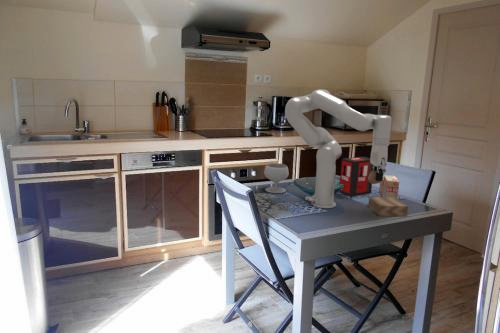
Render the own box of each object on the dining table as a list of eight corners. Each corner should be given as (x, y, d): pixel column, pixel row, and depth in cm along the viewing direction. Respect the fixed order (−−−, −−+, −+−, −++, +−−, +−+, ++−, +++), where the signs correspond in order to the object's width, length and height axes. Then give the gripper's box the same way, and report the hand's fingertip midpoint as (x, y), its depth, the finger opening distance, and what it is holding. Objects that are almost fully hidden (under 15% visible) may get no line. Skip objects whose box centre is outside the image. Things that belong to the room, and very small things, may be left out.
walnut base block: (378, 215, 184) (379, 206, 183) (368, 206, 198) (369, 197, 197) (407, 216, 185) (408, 206, 184) (394, 206, 199) (395, 197, 197)
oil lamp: (382, 182, 186) (384, 166, 185) (387, 184, 183) (388, 168, 181) (366, 183, 184) (367, 167, 182) (370, 185, 180) (372, 169, 179)
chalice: (289, 188, 225) (290, 163, 222) (286, 195, 212) (287, 169, 208) (265, 186, 228) (267, 162, 225) (261, 193, 215) (262, 167, 211)
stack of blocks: (378, 191, 226) (381, 171, 223) (389, 192, 225) (392, 172, 222) (384, 202, 205) (387, 180, 203) (396, 203, 204) (399, 181, 202)
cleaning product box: (359, 189, 229) (362, 156, 224) (371, 193, 221) (374, 159, 217) (338, 192, 221) (341, 158, 216) (350, 196, 213) (353, 161, 209)
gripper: (367, 139, 187) (364, 175, 191) (379, 144, 170) (375, 184, 174) (382, 139, 187) (378, 175, 191) (395, 144, 171) (391, 184, 175)
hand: (377, 179), depth 183 cm, fingers closed on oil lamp, 4 cm apart
